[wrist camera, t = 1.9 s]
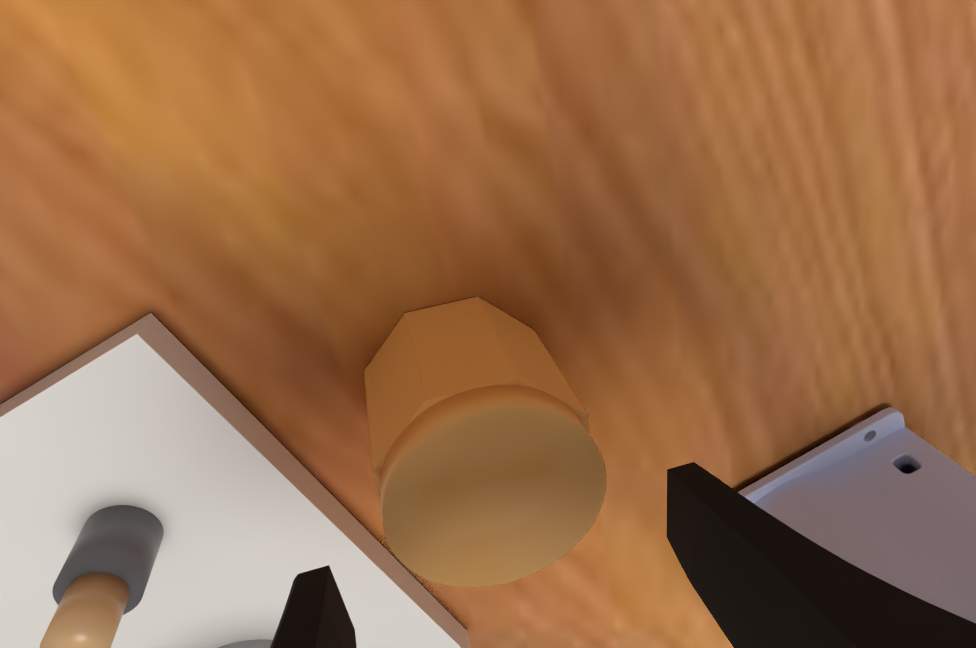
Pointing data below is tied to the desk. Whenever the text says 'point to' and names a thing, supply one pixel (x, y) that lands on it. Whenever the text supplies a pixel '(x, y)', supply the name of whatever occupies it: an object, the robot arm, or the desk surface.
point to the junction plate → (174, 516)
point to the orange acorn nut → (478, 447)
